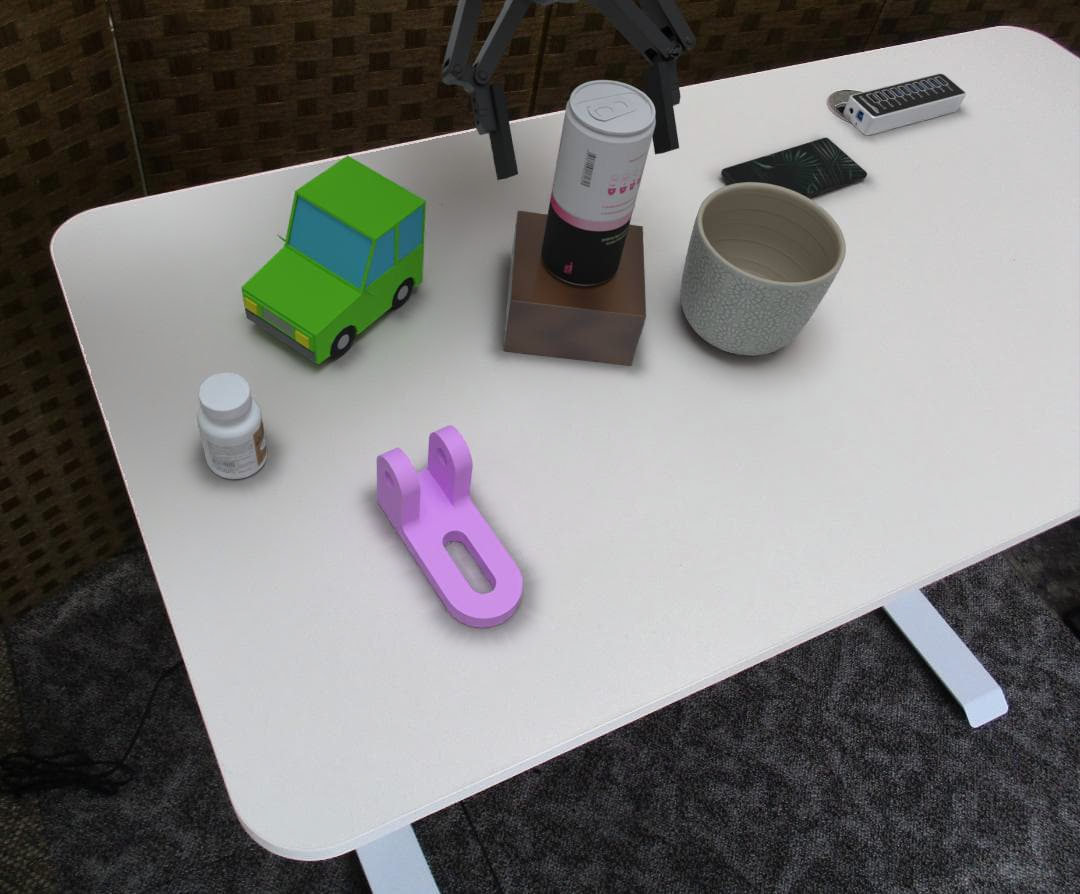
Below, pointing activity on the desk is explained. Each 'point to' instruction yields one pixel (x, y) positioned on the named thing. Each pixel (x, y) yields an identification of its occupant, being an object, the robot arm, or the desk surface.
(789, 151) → the smartphone
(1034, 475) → the desk surface
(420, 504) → the bracket
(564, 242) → the beverage can
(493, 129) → the robot arm
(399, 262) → the toy car
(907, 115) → the multiport hub
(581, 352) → the riser
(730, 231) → the planter
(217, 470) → the pill bottle
